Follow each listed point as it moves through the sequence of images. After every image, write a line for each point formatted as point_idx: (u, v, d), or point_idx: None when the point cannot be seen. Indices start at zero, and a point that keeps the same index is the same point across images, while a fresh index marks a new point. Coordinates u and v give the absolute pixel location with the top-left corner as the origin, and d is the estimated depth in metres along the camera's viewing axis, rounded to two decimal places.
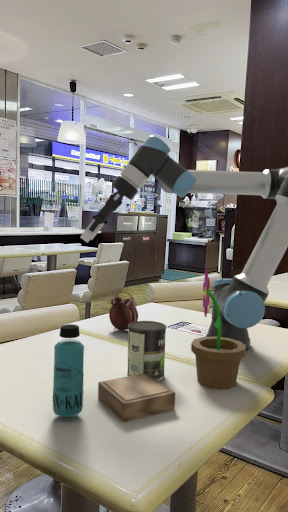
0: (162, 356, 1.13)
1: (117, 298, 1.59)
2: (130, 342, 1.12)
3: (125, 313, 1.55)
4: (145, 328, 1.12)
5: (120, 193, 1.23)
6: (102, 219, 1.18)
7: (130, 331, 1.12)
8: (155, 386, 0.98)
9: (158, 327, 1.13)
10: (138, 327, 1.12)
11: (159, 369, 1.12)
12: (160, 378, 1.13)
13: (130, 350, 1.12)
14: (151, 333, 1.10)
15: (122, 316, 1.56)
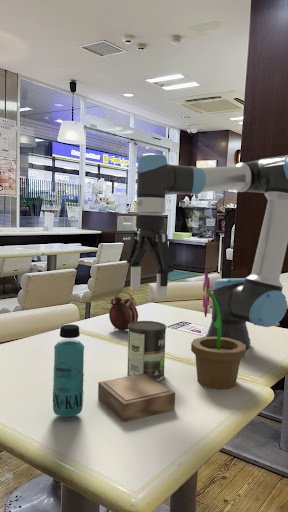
0: (162, 356, 1.13)
1: (117, 298, 1.59)
2: (130, 342, 1.12)
3: (125, 313, 1.55)
4: (145, 328, 1.12)
5: (157, 231, 1.09)
6: (172, 268, 1.05)
7: (130, 331, 1.12)
8: (155, 386, 0.98)
9: (158, 327, 1.13)
10: (138, 327, 1.12)
11: (159, 369, 1.12)
12: (160, 378, 1.13)
13: (130, 350, 1.12)
14: (151, 333, 1.10)
15: (122, 316, 1.56)
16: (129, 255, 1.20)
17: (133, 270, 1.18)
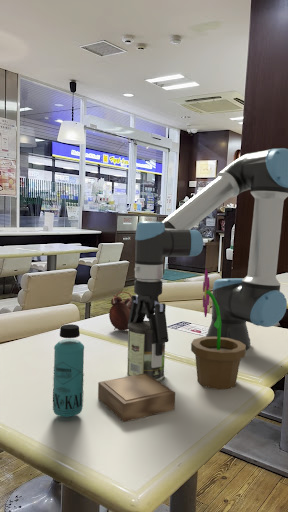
0: (162, 356, 1.13)
1: (117, 298, 1.59)
2: (130, 342, 1.12)
3: (125, 313, 1.55)
4: (145, 328, 1.12)
5: (155, 297, 1.10)
6: (166, 339, 1.08)
7: (130, 331, 1.12)
8: (155, 386, 0.98)
9: None
10: (138, 327, 1.12)
11: (159, 369, 1.12)
12: (160, 378, 1.13)
13: (130, 350, 1.12)
14: (151, 333, 1.10)
15: (122, 316, 1.56)
16: (129, 319, 1.20)
17: None
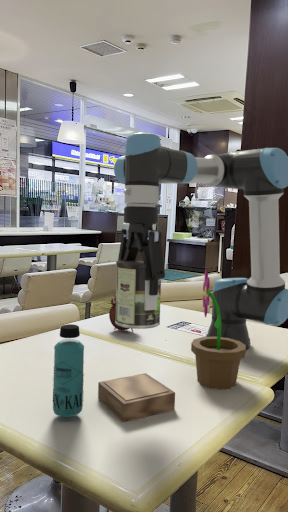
0: (157, 298, 0.93)
1: None
2: (119, 281, 0.93)
3: None
4: (137, 263, 0.92)
5: (149, 225, 0.91)
6: (163, 274, 0.88)
7: (119, 267, 0.93)
8: (155, 386, 0.98)
9: None
10: None
11: (153, 313, 0.92)
12: (155, 324, 0.93)
13: (119, 290, 0.93)
14: (144, 268, 0.90)
15: None
16: (119, 258, 1.01)
17: None
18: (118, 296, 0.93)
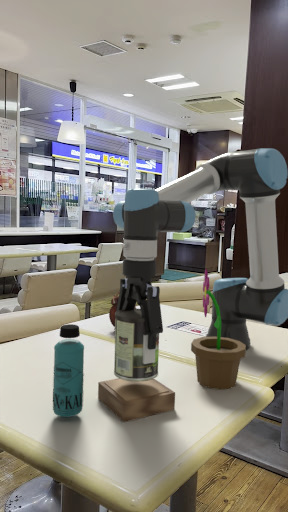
0: (155, 350, 0.94)
1: (117, 298, 1.59)
2: (117, 333, 0.94)
3: None
4: (135, 316, 0.93)
5: (148, 279, 0.92)
6: (161, 329, 0.89)
7: (117, 320, 0.94)
8: (155, 386, 0.98)
9: None
10: (127, 315, 0.94)
11: (151, 366, 0.94)
12: (153, 376, 0.94)
13: (117, 343, 0.94)
14: (142, 322, 0.91)
15: None
16: (118, 307, 1.02)
17: None
18: (117, 348, 0.94)
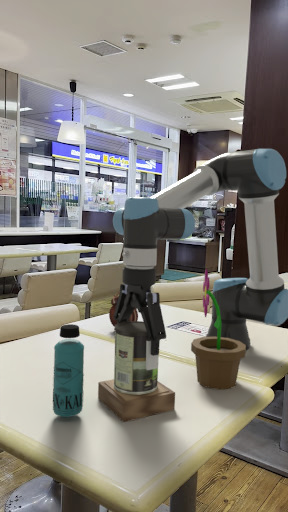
0: None
1: (117, 298, 1.59)
2: (117, 346, 0.94)
3: None
4: (135, 330, 0.94)
5: (147, 288, 0.92)
6: (164, 335, 0.88)
7: (117, 333, 0.94)
8: None
9: None
10: (126, 329, 0.95)
11: (151, 379, 0.94)
12: (152, 389, 0.95)
13: (117, 356, 0.95)
14: (141, 336, 0.92)
15: None
16: (116, 310, 1.03)
17: None
18: (116, 361, 0.95)
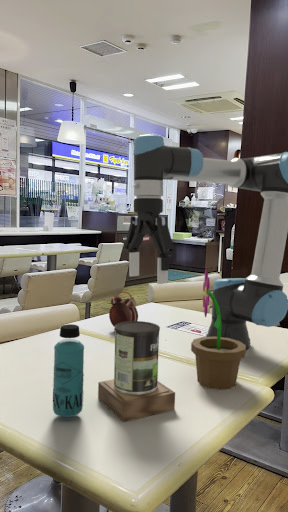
0: (155, 363, 0.95)
1: (117, 298, 1.59)
2: (117, 346, 0.94)
3: (125, 313, 1.55)
4: (135, 330, 0.94)
5: (156, 214, 1.06)
6: (173, 252, 1.02)
7: (117, 333, 0.94)
8: None
9: (150, 329, 0.95)
10: (126, 329, 0.95)
11: (151, 379, 0.94)
12: (152, 389, 0.95)
13: (117, 356, 0.95)
14: (141, 336, 0.92)
15: (122, 316, 1.56)
16: (127, 241, 1.17)
17: (131, 256, 1.15)
18: (116, 361, 0.95)
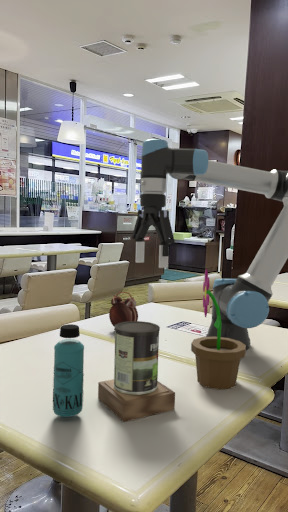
0: (155, 363, 0.95)
1: (117, 298, 1.59)
2: (117, 346, 0.94)
3: (125, 313, 1.55)
4: (134, 330, 0.94)
5: (159, 208, 1.23)
6: (173, 240, 1.18)
7: (117, 333, 0.94)
8: None
9: (150, 329, 0.95)
10: (126, 329, 0.95)
11: (151, 379, 0.94)
12: (152, 389, 0.95)
13: (117, 356, 0.95)
14: (141, 336, 0.92)
15: (122, 316, 1.56)
16: (134, 231, 1.33)
17: (138, 244, 1.32)
18: (116, 361, 0.95)
